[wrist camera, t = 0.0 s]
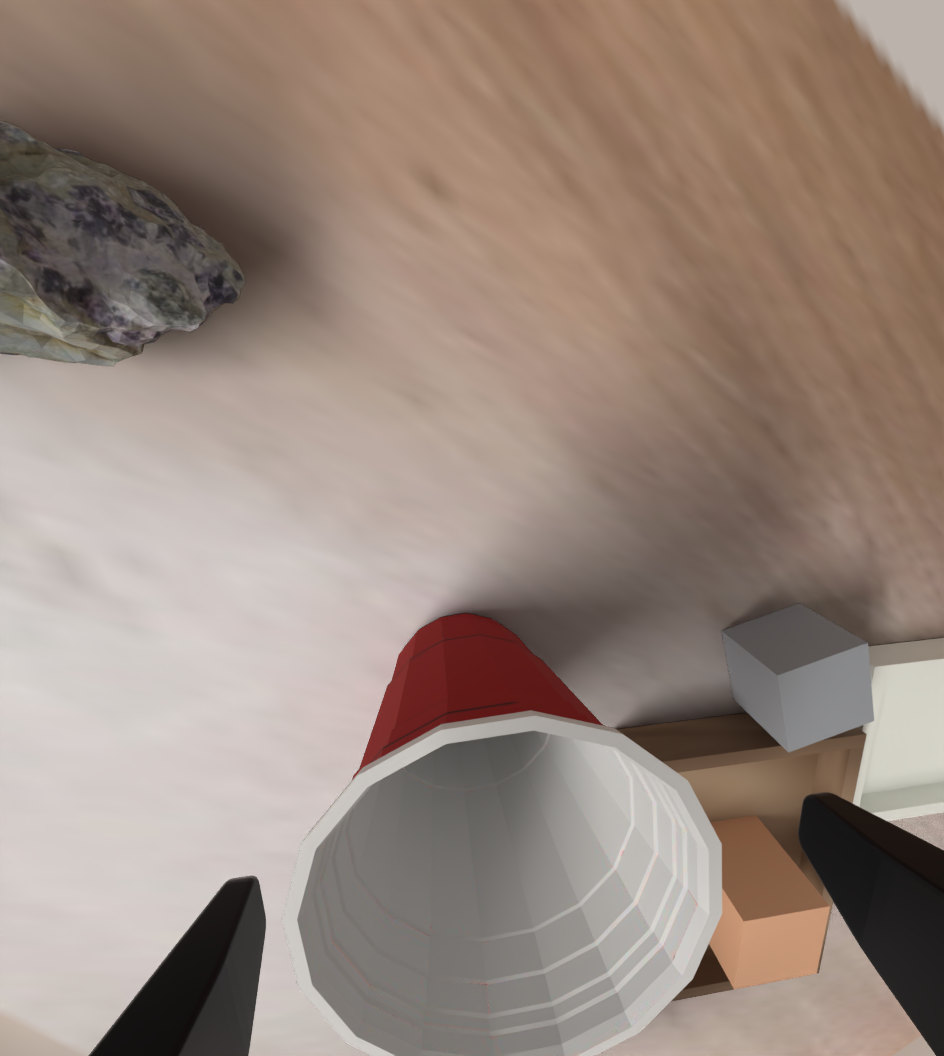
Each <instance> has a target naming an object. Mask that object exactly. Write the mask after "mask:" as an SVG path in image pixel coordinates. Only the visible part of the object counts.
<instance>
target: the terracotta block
mask: <svg viewBox="0 0 944 1056" xmlns="http://www.w3.org/2000/svg"><path fill="white" fill-rule="evenodd" d="M710 823H711V825H712V827H713V829H714V831H715V832H716V834H717V836H718V838H719V840H720V842H721V844H722V915H721V917H720V920H719V922H718V924H717V926H716V929H715V931H714V933H713V935H712V937H711V940H710V942H709V945H710V946H711V948H712V950H713V952H714V954H715V956H716V957H717V959H718V961H719V963H720V965H721V966H722V968H723V970H724V972H725V974H726V976H727V977H728V979H729V981H730V983H731V985H732V987H733V988H734V989H739V988H744V987H749V986H754V985H759V984H765V983H770V982H775V981H780V980H785V979H790V978H796V977H801V976H806V975H811V974H816V973H817V969H818V964H819V959H820V954H821V949H822V944H823V939H824V934H825V929H826V924H827V919H828V914H829V909H830V906H829V904H828V903H827V902H826V901H825V900H824V898H823V897H822V896H821V895H820V893H819V892H818V891H817V890H816V888H815V887H814V886H813V885H812V883H811V882H810V881H809V880H808V879H807V877H806V876H805V875H804V874H803V872H802V871H801V870H800V869H799V867H798V866H797V865H796V864H795V863H794V861H793V860H792V859H791V858H790V856H789V855H788V854H787V853H786V851H785V850H784V849H783V848H782V847H781V845H780V844H779V843H778V842H777V840H776V839H775V838H774V837H773V835H772V834H771V833H770V832H769V831H768V829H767V828H766V827H765V826H764V824H763V823H762V822H761V821H760V819H759V818H758V817H757V816H756V815H755V816H749V817H742V818H736V819H729V820H723V821H716V822H710Z"/></svg>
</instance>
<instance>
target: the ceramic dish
mask: <svg viewBox="0 0 944 1056" xmlns="http://www.w3.org/2000/svg"><path fill="white" fill-rule="evenodd" d="M868 649H869V661H870V674H871V686H872V699H873V712H874V721H873V722H870V723H867V724H865V725H862V726H859V727H858V728H859V729H861V730H862V731H863V732H864V733H866V734H867V735H866V740H865V745H864V750H863V755H862V760H861V765H860V770H859V775H858V780H857V785H856V790H855V795H854V800H853V804H855V805H857V806H859V807H861V808H862V809H864V810H866V811H868V812H870V813H872V814H874V815H876V816H878V817H880V818H882V819H884V820H886V821H892V820H899V819H905V818H911V817H918V816H924V815H930V814H936V813H943V812H944V638H938V639H929V640H920V641H911V642H903V643H894V644H885V645H876V646H868Z"/></svg>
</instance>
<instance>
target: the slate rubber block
mask: <svg viewBox="0 0 944 1056" xmlns="http://www.w3.org/2000/svg"><path fill="white" fill-rule="evenodd" d="M721 632H722V637H723V643H724V648H725V654H726V660H727V665H728V671H729V676H730V682H731V688H732V693H733V699H734V700H735V701H736V702H737V703H738V704H739V705H740V706H741V707H742V708H743V709H744V710H745V711H746V712H747V713H748V714H749V715H750V716H751V717H752V718H753V719H754V720H755V721H756V722H758V723H759V724H760V725H761V726H762V727H763V728H764V729H765V730H766V731H767V732H768V733H769V734H770V735H771V736H772V737H773V738H774V739H775V740H776V741H777V742H778V743H779V744H780V745H781V746H782V747H783V748H784V749H785V750H786V751H787V752H788V753H789V752H791V751H794V750H797V749H800V748H802V747H805V746H808V745H810V744H813V743H816V742H818V741H821V740H824V739H827V738H829V737H832V736H835V735H837V734H840V733H843V732H846V731H848V730H851V729H854V728H856V727H859V726H862V725H865V724H867V723H870V722H873V721H874V712H873V699H872V686H871V674H870V661H869V649H868V642H866V641H864V640H862V639H861V638H859V637H857V636H856V635H854V634H852V633H850V632H849V631H847V630H845V629H843V628H842V627H840V626H838V625H837V624H835V623H833V622H831V621H830V620H828V619H826V618H824V617H823V616H821V615H819V614H818V613H816V612H814V611H812V610H811V609H809V608H807V607H805V606H804V605H802V604H800V603H798V604H795V605H792V606H790V607H787V608H784V609H781V610H778V611H775V612H773V613H770V614H767V615H764V616H761V617H759V618H756V619H753V620H750V621H747V622H745V623H742V624H739V625H736V626H733V627H730V628H728V629H725V630H722V631H721Z"/></svg>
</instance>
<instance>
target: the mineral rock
mask: <svg viewBox="0 0 944 1056" xmlns="http://www.w3.org/2000/svg"><path fill="white" fill-rule="evenodd" d="M244 284H245V278H244V274H243V272H242V270H241V269H240V267H239V265H238V263H237V262H236V261H235V260H233V259H232V258H231V257H230V255H229V254H228V252H227V250H226V249H225V247H224V246H223V244H222V243H220V242H218V241H217V240H215V239H213V238H211V237H210V236H209V235H208V234H207V233H206V232H205V231H204V230H203V229H202V228H200V227H197V226H194V225H192V224H191V223H190V222H189V221H188V220H187V219H186V217H185V216H184V215H183V214H182V212H181V211H180V209H179V208H178V207H177V206H176V205H175V204H174V203H173V202H172V201H171V200H170V199H169V198H168V197H167V196H166V195H165V194H164V193H162V192H160V191H159V190H157V189H155V188H154V187H152V186H151V185H149V184H147V183H146V182H144V181H141V180H139V179H136V178H134V177H131V176H129V175H126V174H124V173H121V172H120V171H118V170H116V169H114V168H112V167H110V166H108V165H106V164H103V163H98V162H95V161H93V160H91V159H89V158H87V157H85V156H83V155H81V154H80V153H79V152H77V151H73V150H69V149H54V148H52V147H51V146H49V145H48V144H47V143H45V142H44V141H39V140H38V139H36V138H35V137H33V136H32V135H30V134H28V133H27V132H25V131H24V130H22V129H20V128H19V127H17V126H15V125H12V124H10V123H7V122H5V121H2V120H0V354H9V355H24V356H27V357H35V358H41V359H47V360H53V361H59V362H67V363H84V364H92V365H100V366H111V367H114V366H115V364H116V362H118V361H121V360H123V359H126V358H129V357H131V356H135V355H138V354H142V351H143V348H144V344H148V343H152V342H155V341H156V340H157V339H158V338H159V337H160V336H161V335H163V334H164V333H166V332H168V331H170V330H180V331H187V332H191V331H193V330H195V329H198V328H199V326H200V325H201V324H203V322H205V321H206V320H207V319H208V317H209V316H210V315H211V314H212V312H213V311H214V310H215V309H217V308H218V307H220V306H221V305H222V304H224V303H234V302H235V301H237V300H238V299H239V297H240V292H241V288H242V287H243V285H244Z"/></svg>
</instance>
